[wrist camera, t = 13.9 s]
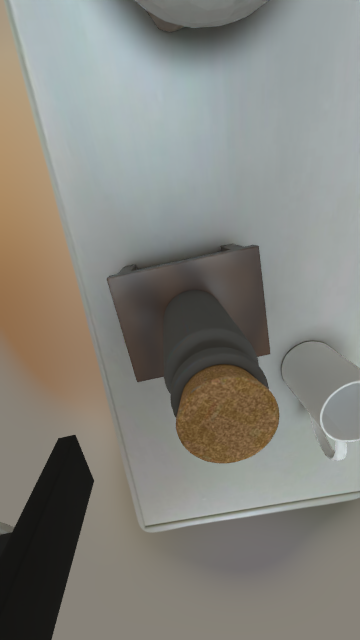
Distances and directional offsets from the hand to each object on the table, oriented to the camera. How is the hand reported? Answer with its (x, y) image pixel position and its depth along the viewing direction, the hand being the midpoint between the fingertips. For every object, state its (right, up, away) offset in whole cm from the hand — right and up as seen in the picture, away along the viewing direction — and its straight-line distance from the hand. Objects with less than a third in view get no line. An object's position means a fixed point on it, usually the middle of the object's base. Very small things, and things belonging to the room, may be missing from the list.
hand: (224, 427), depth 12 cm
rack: (-1, +8, +23) cm, 24 cm away
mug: (+16, -4, +28) cm, 32 cm away
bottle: (-1, +5, +14) cm, 15 cm away
